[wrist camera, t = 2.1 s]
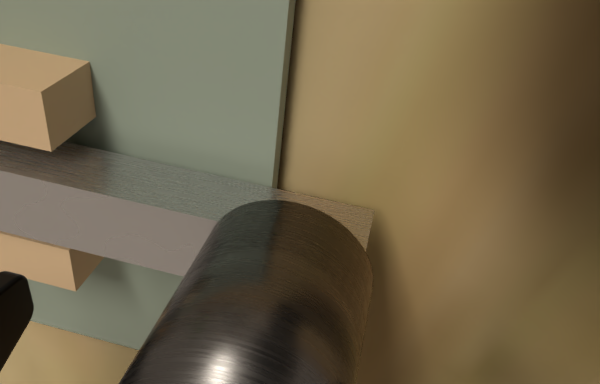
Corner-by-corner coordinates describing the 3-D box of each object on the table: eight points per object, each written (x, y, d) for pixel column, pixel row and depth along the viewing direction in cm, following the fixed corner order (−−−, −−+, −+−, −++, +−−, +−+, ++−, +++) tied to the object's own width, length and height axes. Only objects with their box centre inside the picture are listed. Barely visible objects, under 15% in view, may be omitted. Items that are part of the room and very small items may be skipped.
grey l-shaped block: (401, 156, 12) (358, 427, 6) (365, 302, 14) (312, 586, 9) (-105, 51, 13) (-480, 196, 8) (-57, 199, 16) (-317, 385, 10)
